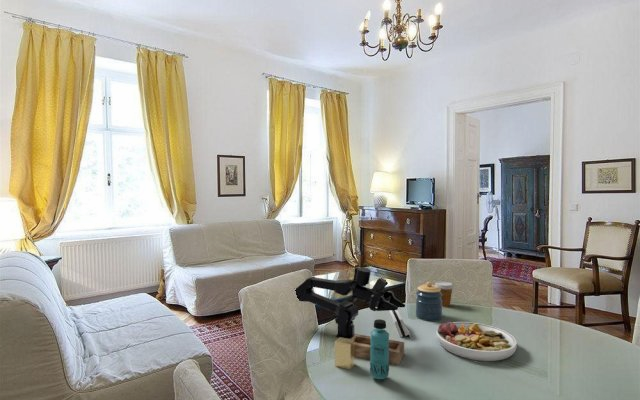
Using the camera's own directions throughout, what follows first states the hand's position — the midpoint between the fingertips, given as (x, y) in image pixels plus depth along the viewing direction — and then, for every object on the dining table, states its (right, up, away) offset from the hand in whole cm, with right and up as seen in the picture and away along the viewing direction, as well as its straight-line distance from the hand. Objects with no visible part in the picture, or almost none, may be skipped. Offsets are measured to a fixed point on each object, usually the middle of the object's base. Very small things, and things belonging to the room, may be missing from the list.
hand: (401, 307), depth 147 cm
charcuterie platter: (+31, -17, +3) cm, 35 cm away
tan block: (-23, -18, -12) cm, 32 cm away
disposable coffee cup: (+36, -15, +55) cm, 68 cm away
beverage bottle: (-12, -18, -22) cm, 31 cm away
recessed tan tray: (-11, -17, -4) cm, 21 cm away
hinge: (+3, -17, +21) cm, 27 cm away
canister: (+22, -16, +37) cm, 46 cm away
